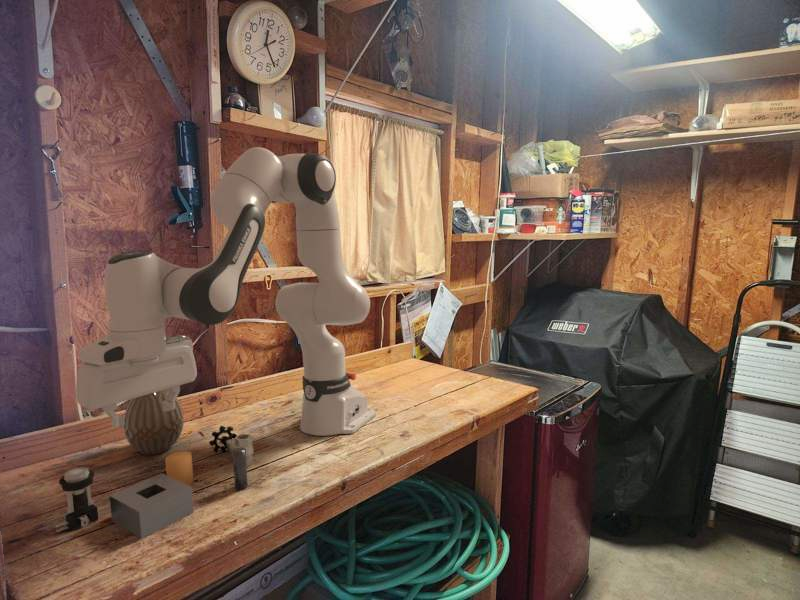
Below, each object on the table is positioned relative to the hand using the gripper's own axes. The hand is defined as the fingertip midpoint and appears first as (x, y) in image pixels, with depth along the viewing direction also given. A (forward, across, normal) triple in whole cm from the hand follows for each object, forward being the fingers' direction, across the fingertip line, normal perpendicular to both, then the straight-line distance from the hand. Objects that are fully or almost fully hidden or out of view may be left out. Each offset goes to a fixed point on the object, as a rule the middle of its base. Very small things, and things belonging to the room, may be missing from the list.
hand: (145, 418), depth 90 cm
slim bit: (+19, -16, +5) cm, 25 cm away
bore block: (+19, 0, 0) cm, 19 cm away
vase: (+19, -17, -28) cm, 38 cm away
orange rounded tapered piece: (+19, -10, -7) cm, 23 cm away
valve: (+20, -24, -7) cm, 31 cm away
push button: (+19, +9, -9) cm, 23 cm away
